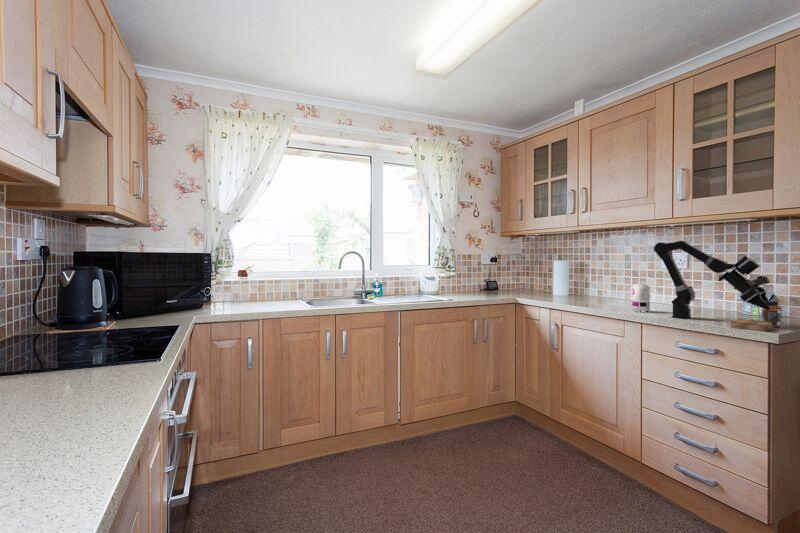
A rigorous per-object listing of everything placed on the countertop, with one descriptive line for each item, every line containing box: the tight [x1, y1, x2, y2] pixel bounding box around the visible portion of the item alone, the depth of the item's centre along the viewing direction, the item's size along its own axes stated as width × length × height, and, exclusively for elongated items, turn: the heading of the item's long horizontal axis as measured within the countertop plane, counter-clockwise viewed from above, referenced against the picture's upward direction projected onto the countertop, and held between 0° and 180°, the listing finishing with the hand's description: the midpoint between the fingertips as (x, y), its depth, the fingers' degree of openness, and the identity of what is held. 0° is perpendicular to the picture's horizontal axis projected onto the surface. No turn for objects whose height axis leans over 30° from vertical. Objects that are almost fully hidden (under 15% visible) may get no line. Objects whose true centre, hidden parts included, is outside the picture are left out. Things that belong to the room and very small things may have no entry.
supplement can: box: [631, 283, 651, 313], centre depth 220 cm, size 8×8×15 cm
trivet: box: [730, 318, 773, 332], centre depth 169 cm, size 11×11×3 cm
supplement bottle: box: [761, 300, 782, 329], centre depth 172 cm, size 6×6×11 cm
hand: (771, 308), depth 172 cm, fingers open, 9 cm apart
